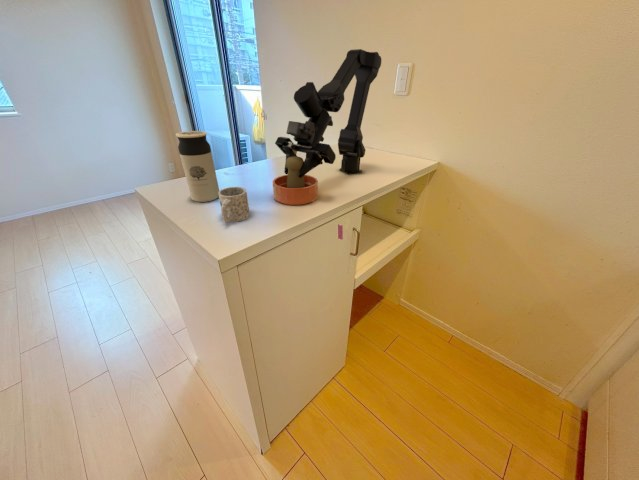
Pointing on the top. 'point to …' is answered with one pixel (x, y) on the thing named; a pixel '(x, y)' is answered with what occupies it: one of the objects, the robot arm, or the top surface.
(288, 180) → the cork
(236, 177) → the top surface
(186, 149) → the travel mug
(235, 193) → the mug
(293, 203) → the orange brown bowl
